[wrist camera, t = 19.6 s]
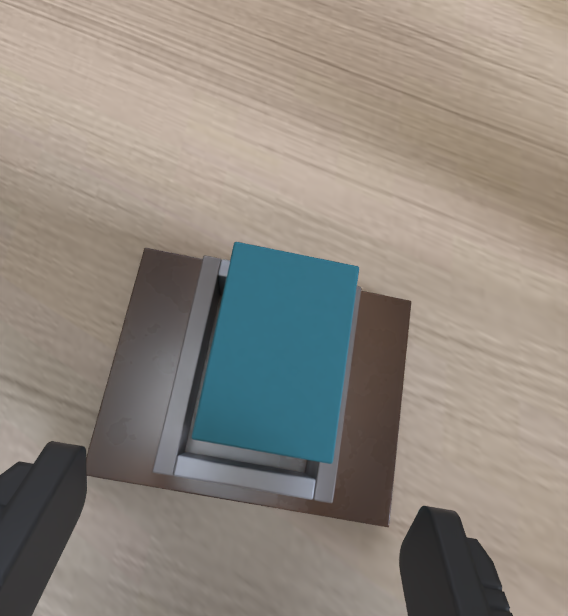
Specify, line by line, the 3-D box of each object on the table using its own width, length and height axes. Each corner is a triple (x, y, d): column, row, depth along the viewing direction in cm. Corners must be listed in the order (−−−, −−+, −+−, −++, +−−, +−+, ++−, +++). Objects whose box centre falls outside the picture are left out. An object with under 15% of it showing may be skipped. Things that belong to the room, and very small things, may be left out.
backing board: (88, 472, 21) (56, 481, 17) (148, 254, 24) (131, 221, 20) (382, 523, 22) (413, 542, 18) (405, 305, 25) (436, 282, 21)
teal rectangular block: (208, 436, 21) (190, 438, 13) (234, 313, 23) (234, 240, 14) (293, 451, 21) (333, 464, 13) (312, 328, 23) (360, 265, 14)
